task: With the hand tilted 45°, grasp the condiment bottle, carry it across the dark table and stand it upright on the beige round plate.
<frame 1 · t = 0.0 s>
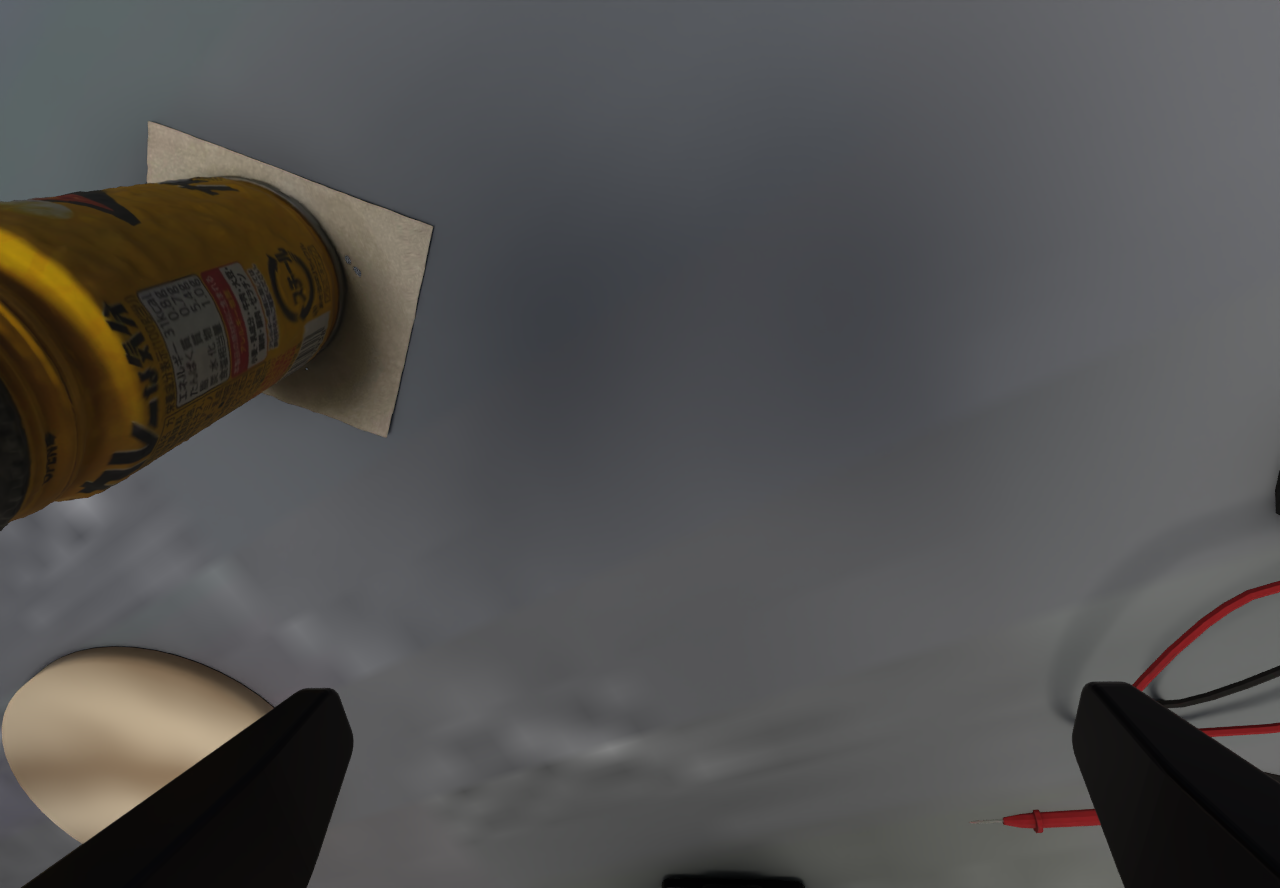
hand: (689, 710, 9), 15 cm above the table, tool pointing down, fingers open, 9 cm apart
condiment: (285, 288, 23), on the table
beige round plate: (175, 766, 32), on the table
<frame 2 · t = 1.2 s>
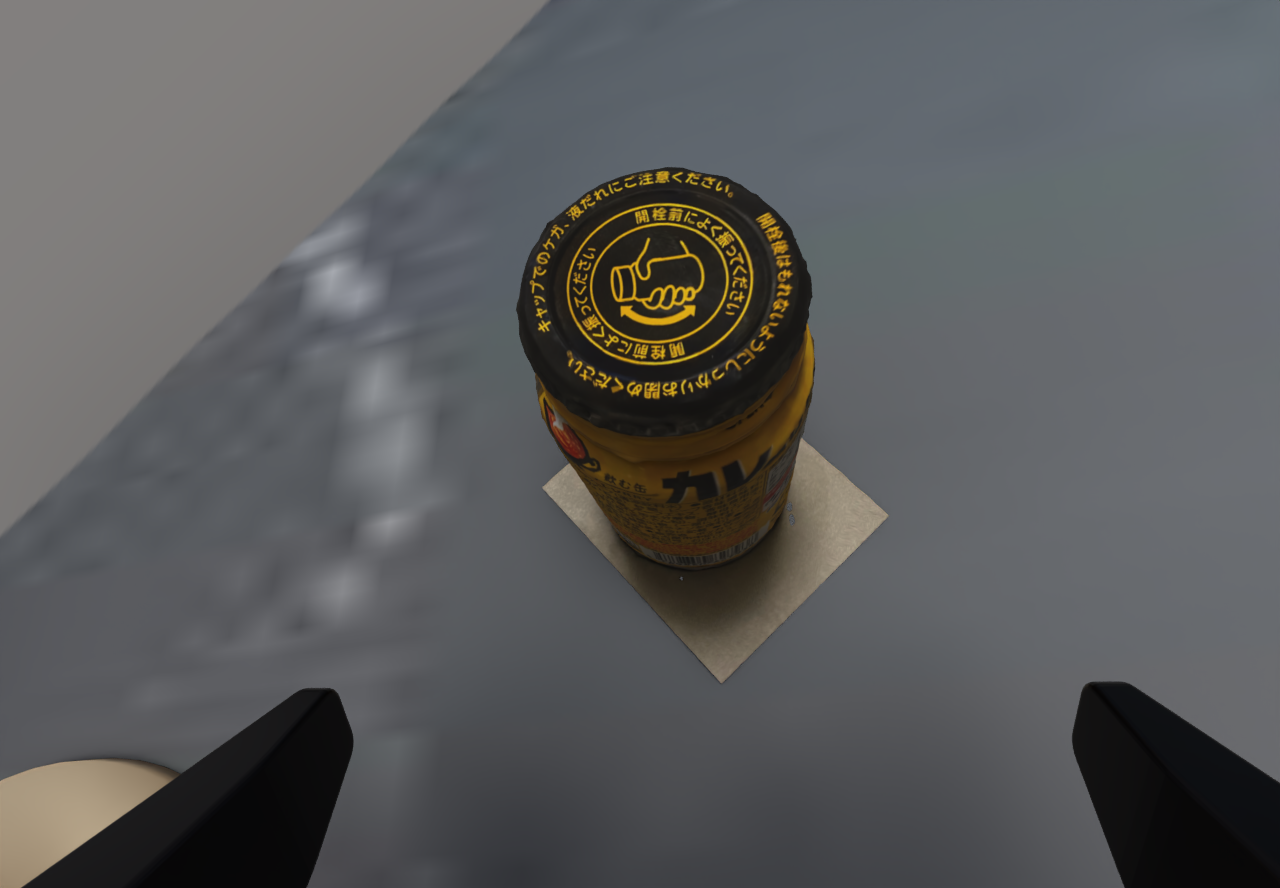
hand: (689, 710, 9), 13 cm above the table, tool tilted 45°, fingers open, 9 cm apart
condiment: (709, 504, 23), on the table
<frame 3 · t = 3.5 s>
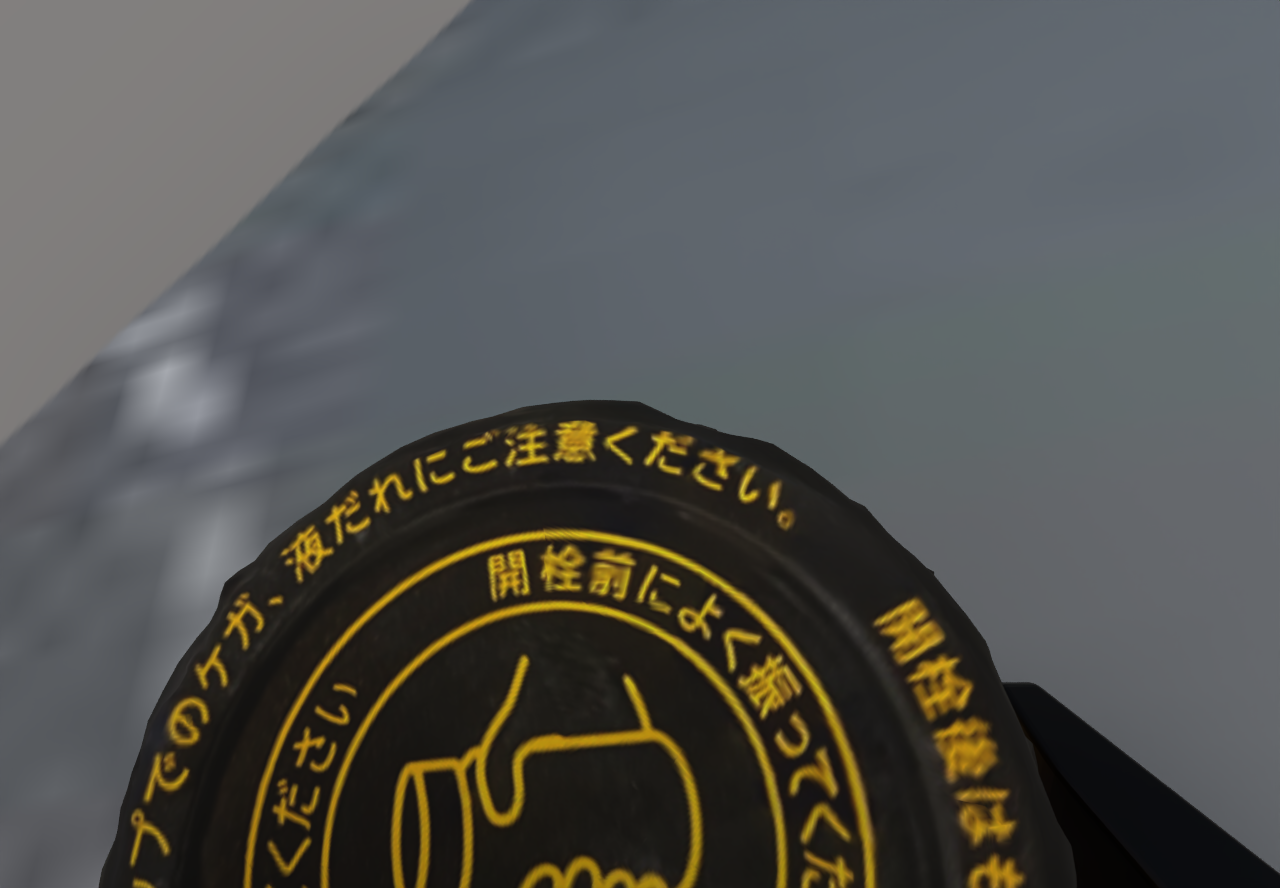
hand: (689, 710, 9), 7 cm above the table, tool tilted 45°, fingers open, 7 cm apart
condiment: (712, 777, 15), on the table, touching gripper
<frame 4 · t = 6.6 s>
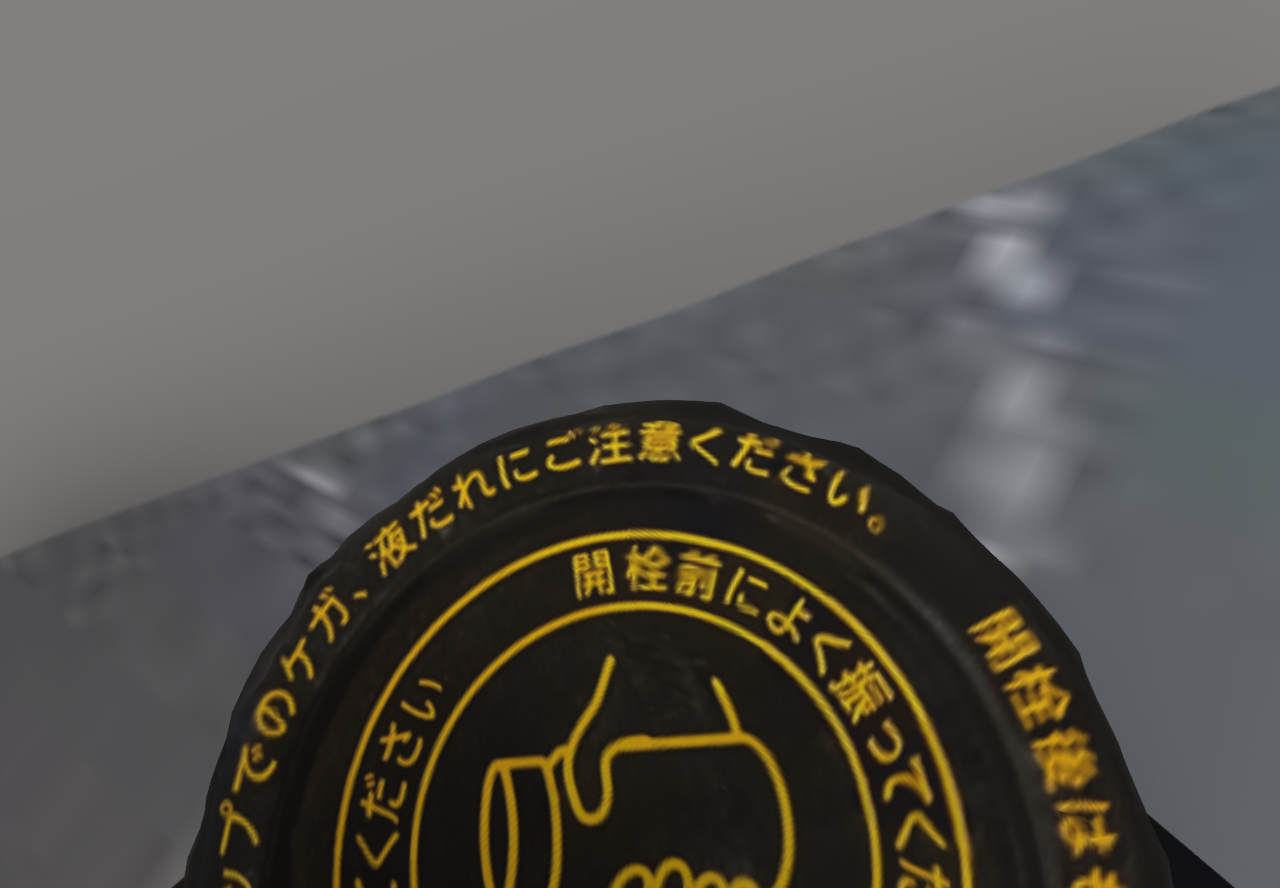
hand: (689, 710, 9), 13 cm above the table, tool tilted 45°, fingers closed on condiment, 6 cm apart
condiment: (735, 777, 15), point 6 cm above the table, touching gripper
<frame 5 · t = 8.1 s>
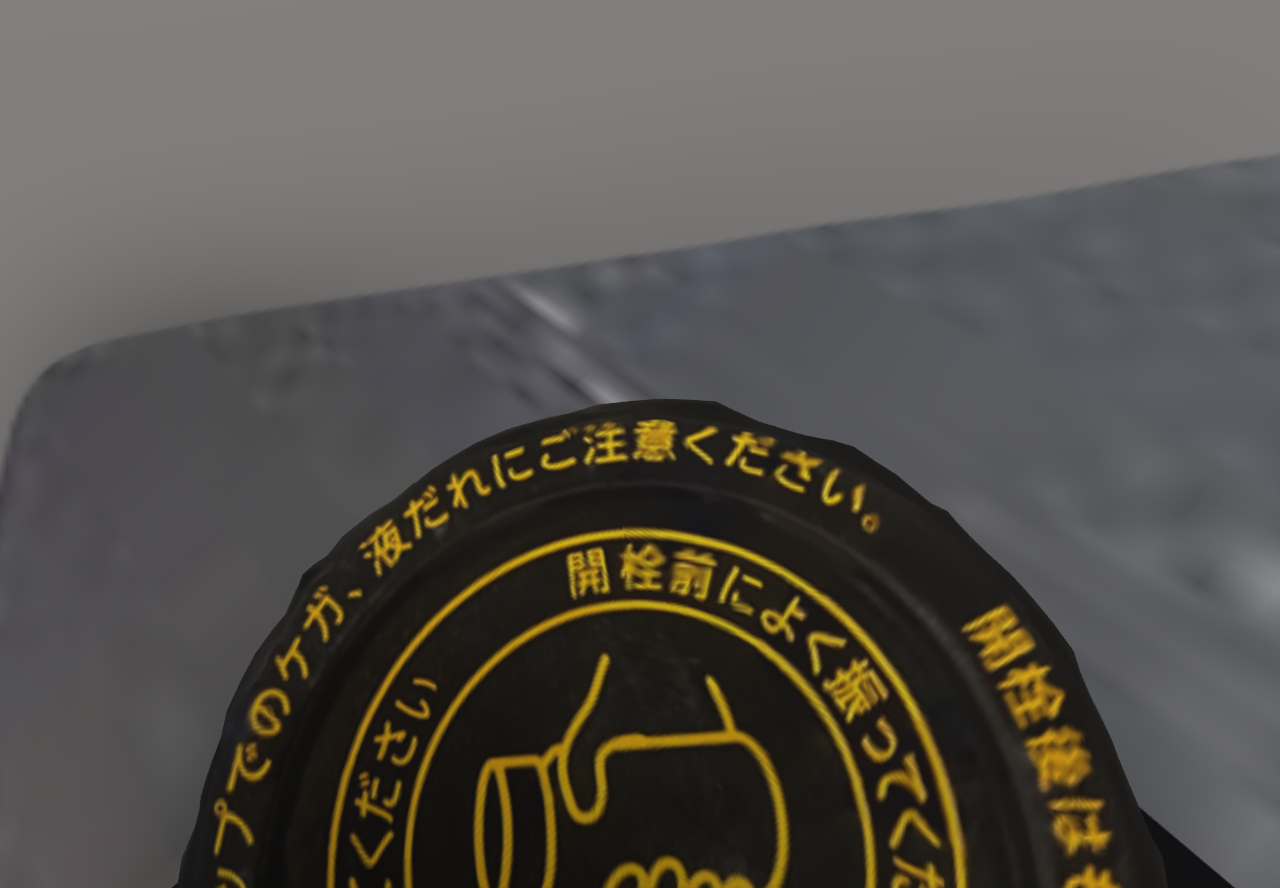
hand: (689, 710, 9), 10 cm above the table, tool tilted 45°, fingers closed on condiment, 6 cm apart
condiment: (734, 776, 15), point 3 cm above the table, touching gripper
when the fingers open (9 cm above the table, at t = 9.2 s): condiment drops 1 cm, resting on beige round plate.
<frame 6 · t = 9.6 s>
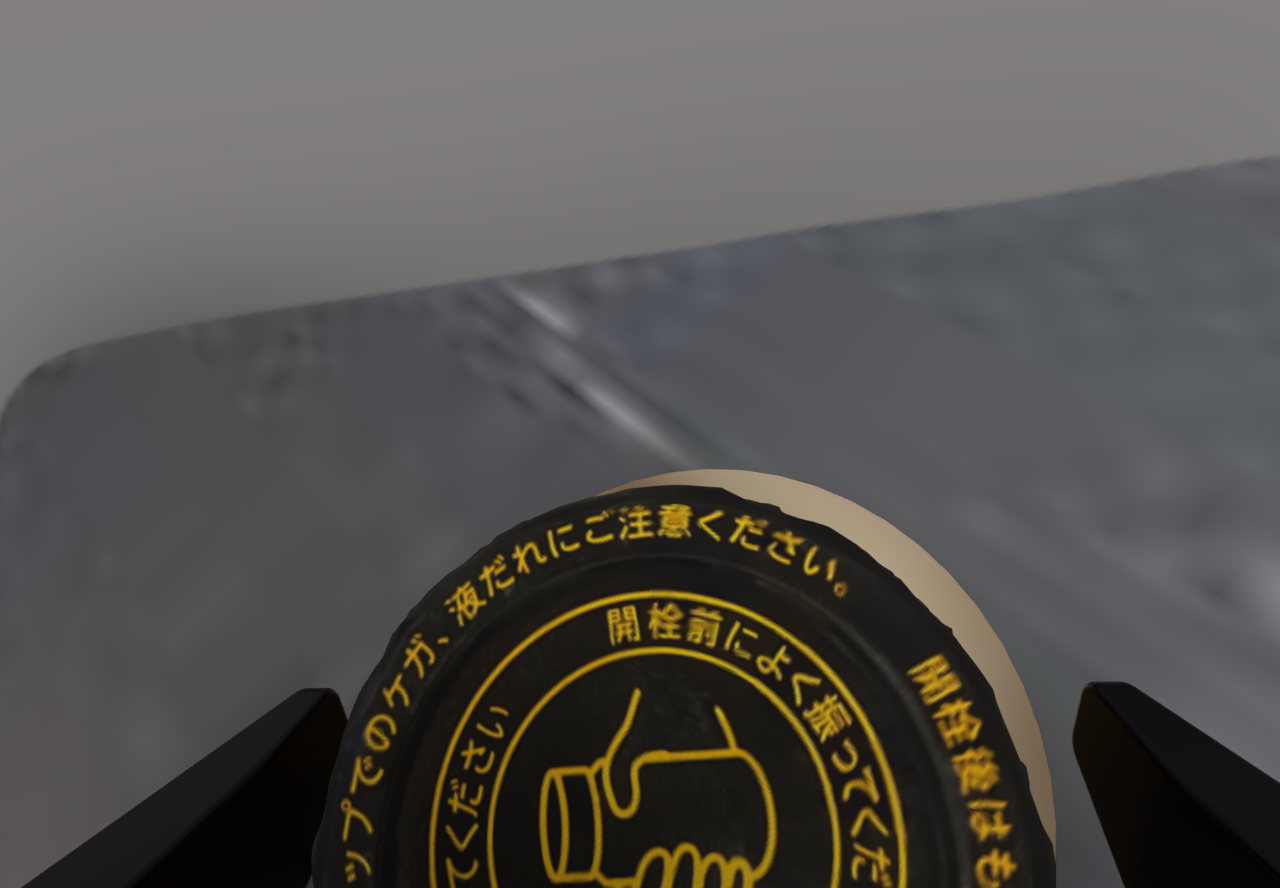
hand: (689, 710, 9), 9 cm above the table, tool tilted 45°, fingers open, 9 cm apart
condiment: (733, 779, 16), point 1 cm above the table, touching beige round plate
beige round plate: (715, 767, 17), on the table
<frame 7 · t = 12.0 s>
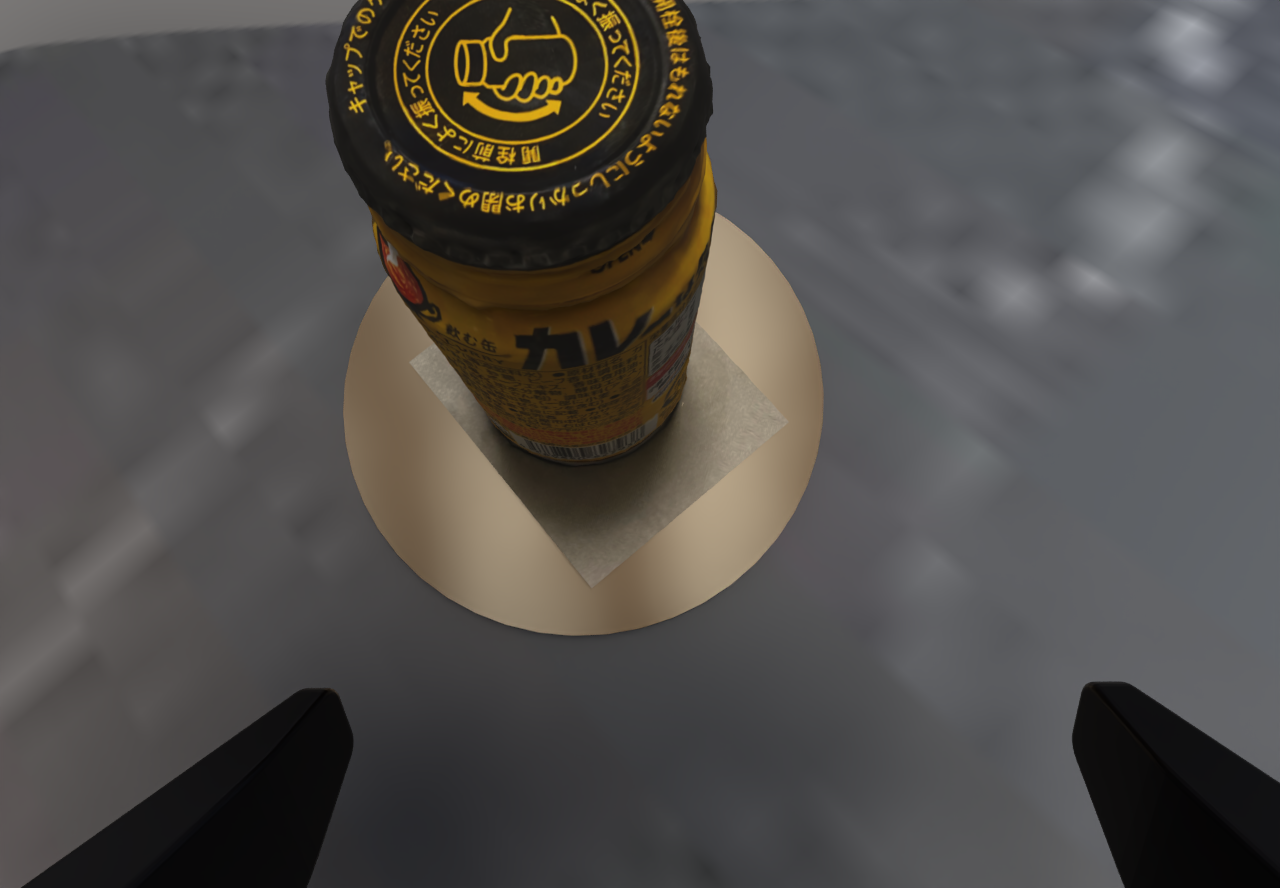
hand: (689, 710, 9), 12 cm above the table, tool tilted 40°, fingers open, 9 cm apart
condiment: (598, 395, 21), point 1 cm above the table, touching beige round plate
beige round plate: (586, 398, 22), on the table
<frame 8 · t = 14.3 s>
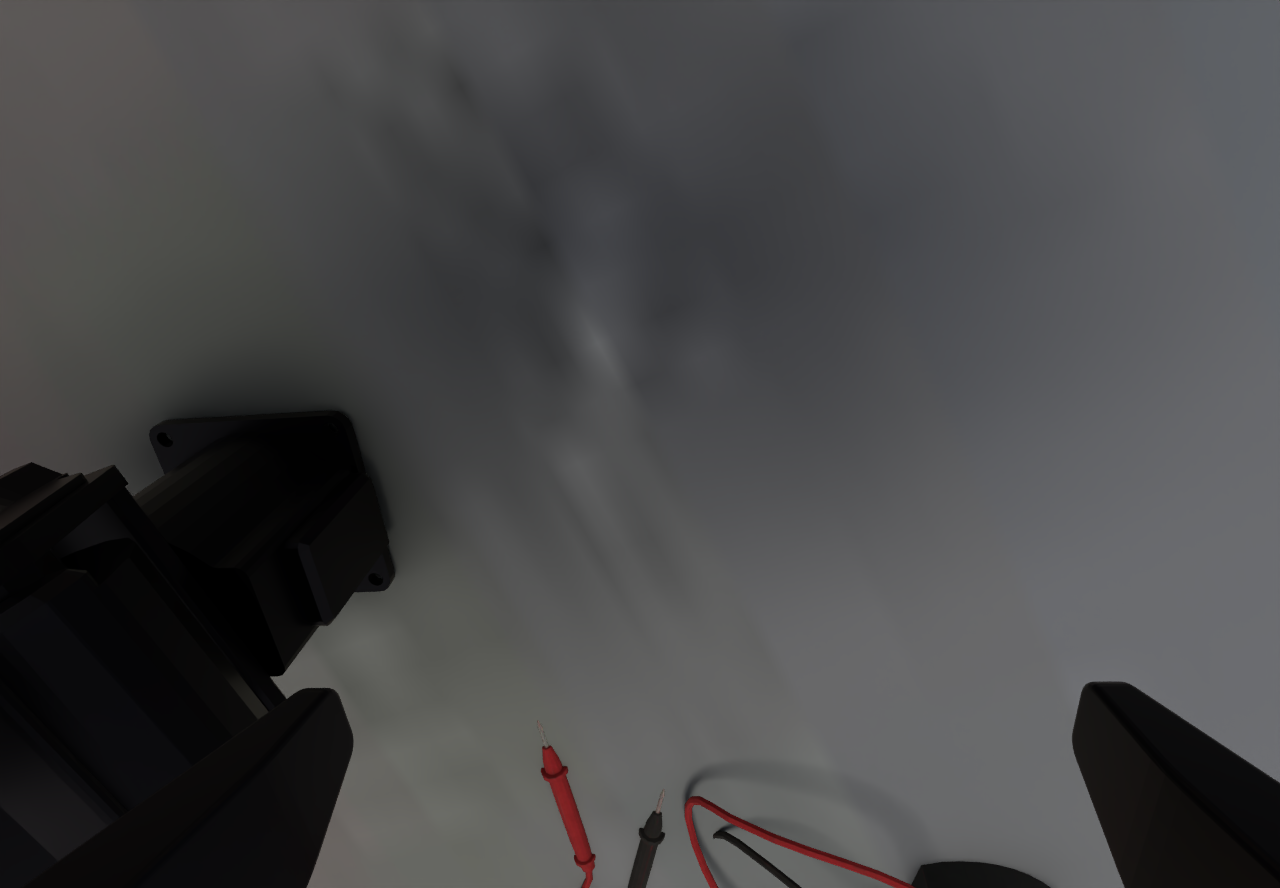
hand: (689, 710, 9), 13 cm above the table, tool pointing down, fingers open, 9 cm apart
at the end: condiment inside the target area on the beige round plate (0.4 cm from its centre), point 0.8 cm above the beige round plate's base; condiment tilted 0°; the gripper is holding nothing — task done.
